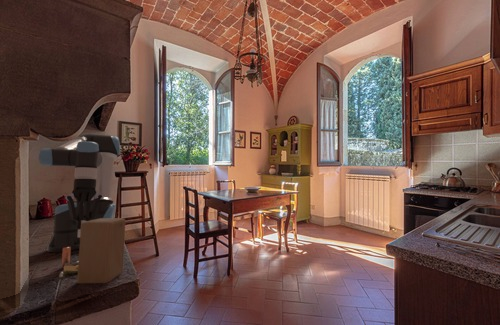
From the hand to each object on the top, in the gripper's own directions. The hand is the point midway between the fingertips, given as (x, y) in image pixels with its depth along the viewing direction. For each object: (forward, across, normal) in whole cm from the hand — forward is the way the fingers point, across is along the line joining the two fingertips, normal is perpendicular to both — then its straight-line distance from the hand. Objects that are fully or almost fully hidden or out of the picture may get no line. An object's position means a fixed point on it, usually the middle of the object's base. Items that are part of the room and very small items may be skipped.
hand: (81, 237), depth 91 cm
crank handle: (+10, +4, +5) cm, 12 cm away
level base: (+12, +4, +8) cm, 15 cm away
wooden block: (+12, +3, +22) cm, 25 cm away
